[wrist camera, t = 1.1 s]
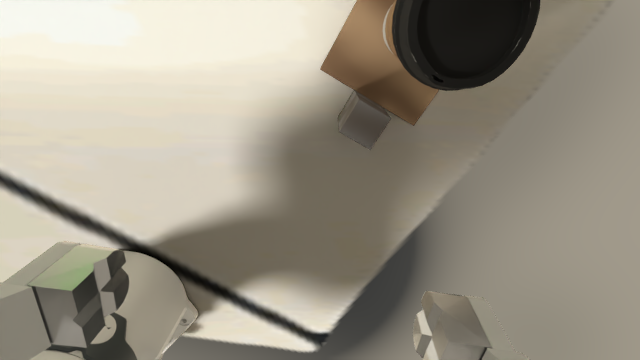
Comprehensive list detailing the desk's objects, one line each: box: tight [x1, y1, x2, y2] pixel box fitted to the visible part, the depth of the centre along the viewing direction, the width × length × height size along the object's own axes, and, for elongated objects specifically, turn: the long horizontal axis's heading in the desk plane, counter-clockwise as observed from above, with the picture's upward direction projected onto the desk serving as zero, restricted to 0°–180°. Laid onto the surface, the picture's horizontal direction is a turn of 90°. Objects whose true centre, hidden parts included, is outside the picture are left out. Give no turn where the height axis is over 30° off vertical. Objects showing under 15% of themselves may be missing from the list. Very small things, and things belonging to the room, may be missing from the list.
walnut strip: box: [320, 0, 439, 150], centre depth 30 cm, size 20×12×6 cm, turn 150°
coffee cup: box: [383, 0, 540, 91], centre depth 25 cm, size 8×8×15 cm
